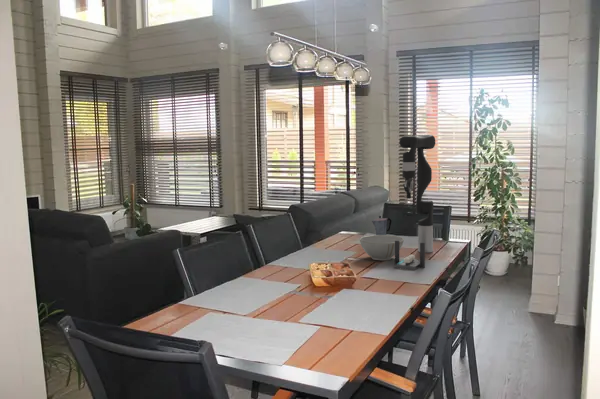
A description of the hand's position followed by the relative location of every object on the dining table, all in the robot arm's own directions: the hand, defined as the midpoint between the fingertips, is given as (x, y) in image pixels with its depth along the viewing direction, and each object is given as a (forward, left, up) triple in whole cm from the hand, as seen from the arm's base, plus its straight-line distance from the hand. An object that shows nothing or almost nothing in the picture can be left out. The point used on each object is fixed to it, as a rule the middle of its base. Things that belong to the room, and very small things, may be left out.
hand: (408, 198), depth 307 cm
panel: (+16, +6, -37) cm, 41 cm away
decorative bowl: (+4, -16, -37) cm, 41 cm away
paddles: (+16, +6, -34) cm, 38 cm away
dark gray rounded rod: (+16, -1, -37) cm, 40 cm away
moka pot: (-38, -33, -37) cm, 63 cm away
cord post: (+16, +14, -37) cm, 43 cm away
